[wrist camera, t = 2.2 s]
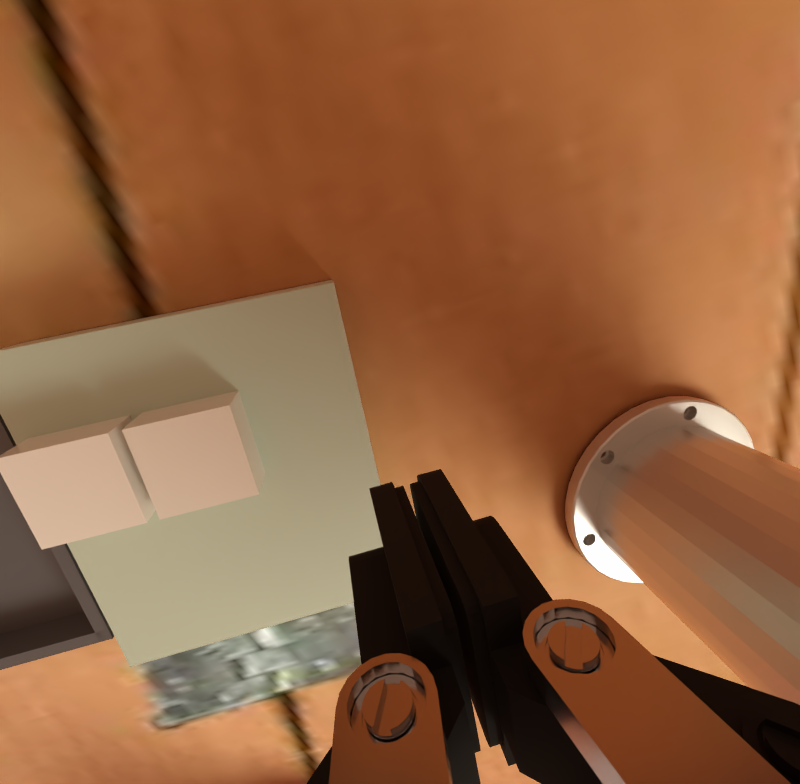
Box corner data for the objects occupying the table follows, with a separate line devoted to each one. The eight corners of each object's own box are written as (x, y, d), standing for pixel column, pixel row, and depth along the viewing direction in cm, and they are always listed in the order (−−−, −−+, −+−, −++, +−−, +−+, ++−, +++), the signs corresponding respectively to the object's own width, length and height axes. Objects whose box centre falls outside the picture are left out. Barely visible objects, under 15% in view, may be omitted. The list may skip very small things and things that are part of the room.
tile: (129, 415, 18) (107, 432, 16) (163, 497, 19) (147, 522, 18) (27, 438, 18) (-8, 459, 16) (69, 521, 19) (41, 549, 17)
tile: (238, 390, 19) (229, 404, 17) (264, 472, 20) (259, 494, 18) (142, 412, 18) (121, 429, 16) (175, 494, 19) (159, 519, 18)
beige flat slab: (332, 279, 21) (333, 282, 18) (394, 552, 26) (404, 587, 23) (21, 342, 19) (-29, 356, 17) (152, 619, 24) (130, 667, 22)
